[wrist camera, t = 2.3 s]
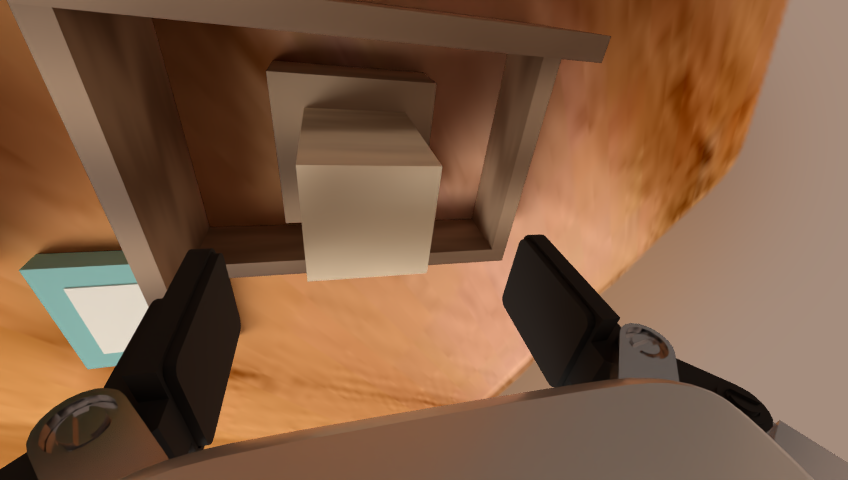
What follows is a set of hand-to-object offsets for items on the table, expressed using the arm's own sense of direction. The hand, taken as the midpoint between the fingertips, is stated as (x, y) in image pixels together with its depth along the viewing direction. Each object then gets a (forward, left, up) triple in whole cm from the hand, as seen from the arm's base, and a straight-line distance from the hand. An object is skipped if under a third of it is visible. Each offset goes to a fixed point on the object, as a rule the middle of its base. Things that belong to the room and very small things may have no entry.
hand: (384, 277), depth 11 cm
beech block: (0, 0, -10) cm, 10 cm away
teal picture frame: (+12, -14, -13) cm, 22 cm away
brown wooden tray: (0, 0, -13) cm, 13 cm away
